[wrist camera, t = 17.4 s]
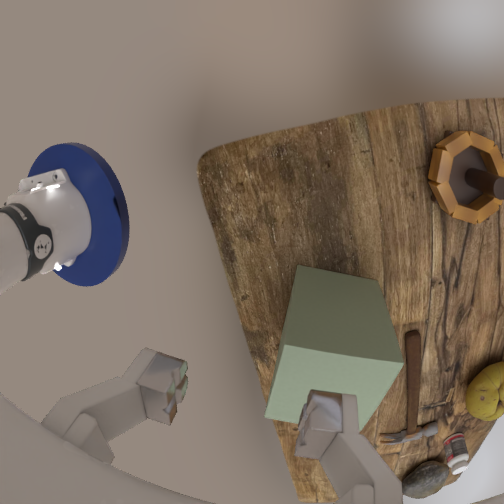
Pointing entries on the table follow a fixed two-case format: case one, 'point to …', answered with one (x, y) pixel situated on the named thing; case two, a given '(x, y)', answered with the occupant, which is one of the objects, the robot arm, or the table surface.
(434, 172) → the ring
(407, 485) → the stone
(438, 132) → the table surface
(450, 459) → the pill bottle
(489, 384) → the fruit
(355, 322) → the pedestal
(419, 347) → the hammer
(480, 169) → the stand
